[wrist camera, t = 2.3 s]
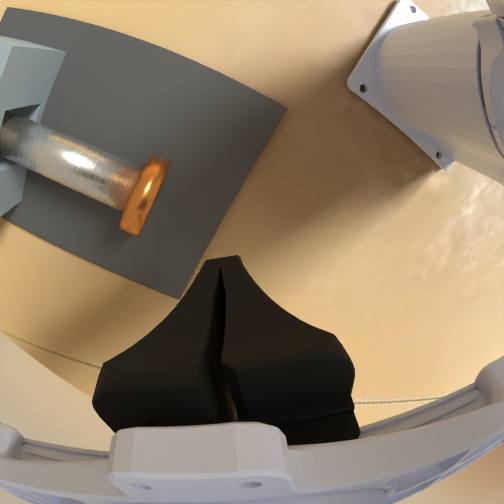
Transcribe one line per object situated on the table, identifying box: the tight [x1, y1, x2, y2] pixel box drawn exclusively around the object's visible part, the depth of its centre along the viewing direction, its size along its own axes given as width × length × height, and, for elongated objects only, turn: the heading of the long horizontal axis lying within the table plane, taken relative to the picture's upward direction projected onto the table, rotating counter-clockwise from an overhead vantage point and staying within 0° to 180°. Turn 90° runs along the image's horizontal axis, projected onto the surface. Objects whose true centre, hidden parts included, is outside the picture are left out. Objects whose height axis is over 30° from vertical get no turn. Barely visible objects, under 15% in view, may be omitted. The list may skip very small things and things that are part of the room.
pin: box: [0, 110, 172, 237], centre depth 13 cm, size 11×4×4 cm, turn 61°
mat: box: [0, 7, 287, 299], centre depth 15 cm, size 20×14×1 cm
